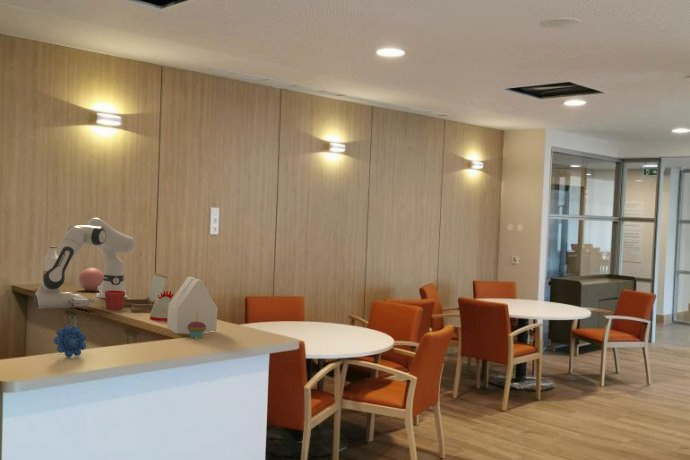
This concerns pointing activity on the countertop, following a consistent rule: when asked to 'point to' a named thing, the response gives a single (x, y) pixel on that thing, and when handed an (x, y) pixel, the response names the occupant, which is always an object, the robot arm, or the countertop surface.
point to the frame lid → (157, 286)
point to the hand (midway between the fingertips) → (94, 300)
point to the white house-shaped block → (192, 307)
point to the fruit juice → (50, 259)
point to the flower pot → (114, 299)
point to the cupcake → (196, 328)
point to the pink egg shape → (91, 279)
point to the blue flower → (70, 341)
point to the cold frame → (139, 304)
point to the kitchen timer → (161, 307)
